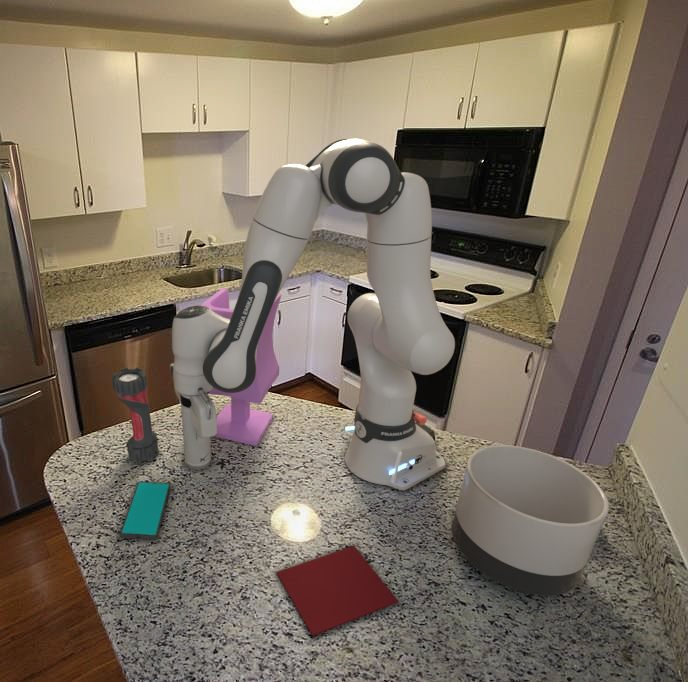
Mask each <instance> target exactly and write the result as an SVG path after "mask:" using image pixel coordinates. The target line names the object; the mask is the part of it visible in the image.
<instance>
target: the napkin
mask: <svg viewBox="0 0 688 682" xmlns="http://www.w3.org/2000/svg"><path fill="white" fill-rule="evenodd" d="M276 575H277V577H278V579H279V581H280V582H281V584H282V585H283V587H284V590H285V591H286V593H287V595H288V596H289V598H290V600H291V601H292V603H293V605H294V606H295V609H296V610H297V611H298V612H297V613H298V614H299V615H300V617H301V619H302V621H303V622H304V624H305V626H306V628H307V629H308V632H309V633H310V634H311V636H312V637H315V636H318V635H320V634H322V633H326V632H327V631H330V630H333V629H335V628H338V627H340V626H342V625H345V624H347V623H350V622H353V621H356V620H358V619H360V618H363V617H366V616H367V615H370V614H373V613H376V612H377V611H380V610H382V609H383V610H384V609H385V608H389V607H391V606H394V605H395V604H398V603H399V600H398V599H397V597H396V596H395V595H394V594H393V592H392V591H391V590H390V589H389V587H388V586H387V585H386V583H385V582H384V581H383V580H382V579H381V578H380V576H379V575H378V573H377V572H376V571H375V570H374V568H372V566H371V564H370V563H368V561H367V560H366V559H365V557H364V556H363V555H362V554H361V552H360V551H359V550H358V549H357V548H356V546H355V545H352V546H349V547H346V548H343V549H340V550H337V551H334V552H331V553H327V554H325V555H323V556H322V555H321V556H320V557H315V558H314V559H311V560H308V561H305V562H302V563H298V564H296V565H293V566H291V567H287V568H284V569H282V570H279V571H276Z"/></svg>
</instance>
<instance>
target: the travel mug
mask: <svg viewBox="0 0 688 682" xmlns="http://www.w3.org/2000/svg"><path fill="white" fill-rule="evenodd" d="M209 392H210V391H209ZM209 392H207V394H208V393H209ZM208 395H209V394H208ZM180 396H181V403H180V411H181V424H182V425H181V426H182V427H181V428H182V438H183V439H182V440H183V452H184V464H185V466H186V467H188V469H190V470H196V471H200V470H204V469H206V468H208V467H209V466H210V465H211V464H212V445H211V437H209V438H205V442H203V443H198V442H197V440H196V433H197V431H196V429H195V427H194V425H193V424H192V422H191V420H190V406H191V401H190V399H187V398H185V397H183V396H182V395H181V394H180Z"/></svg>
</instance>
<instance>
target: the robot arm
mask: <svg viewBox="0 0 688 682" xmlns="http://www.w3.org/2000/svg"><path fill="white" fill-rule="evenodd" d="M272 174H273V175H272V176H271V177H270V179H269V181H268V183H267V184H266V187H265V189H264V191H263V192H262V195H261V196H260V198H259V200H258V203H257V206H256V208H255V211H254V213H253V215H252V219H251V222H250V225H249V228H248V231H247V234H246V235H247V236H246V240H245V245H244V251H243V260H242V272H241V273H242V274H241V281H240V288H239V293H238V296H237V299H236V302H235V305H234V308H233V310H234V311H233V313H232V316H231V319H227V318H224V317H222V316H220V315H218V314H216V313H214V312H213V311H212V310H211V309H210V308H208V307H206V306H201V305H191V306H188V307H186V308H183V309H181V310H179V312H177V313H176V315H175V316H174V317H173V321H172V326H171V350H172V353H173V357H174V359H173V363H170V364H169V370H170V374H171V376H172V381H173V389H174V393H175V395H176V397H177V399H178V401H179V403H180V404H181V396H180V394H181V395H182V396H183V397H185V398H187V399H190V401H191V406H190V420H191V422H192V424H193V425H194V427H195V429H196V431H197V433H196V440H197V442H198V443H203V442H205V438H209V437H210V438H213V437H216V436H215V435H216V434H217V418H216V417H217V410H216V405H215V403H214V401H213V399H212V398H211V397H210V396H209V394H207V392H209V391H211V390H212V389H213V387H214V388H215V389H217V390H219V391H222V392H226V393H237V392H241V391H243V390H245V389H247V388H248V387H249V386H250V385H251V384H252V383H253V381H254V379H255V376H256V358H257V350H258V341H259V339H260V336H261V334H262V331H263V328H264V326H265V323H266V321H267V318H268V315H269V313H270V310H271V308H272V305H273V303H274V301H275V299H276V297H277V296H278V294H280V292H281V290H282V288H284V285H285V283H286V282H287V280H288V278H290V275H291V274H292V272H293V270H294V269H295V267H296V266H297V264H298V262H299V260H300V258H301V257H302V255H303V252H304V251H305V248H306V246H307V244H308V242H309V239H310V237H311V234H312V232H313V229H314V226H315V224H316V222H317V220H318V219H319V217H320V216H321V215H322V213H323V212H324V211H326V209H328V208H329V207H330V206H332V205H337V206H339V207H341V208H343V209H344V210H346V211H350V212H353V213H363V214H365V218H366V219H365V220H366V223H367V225H366V276H367V280H368V281H367V282H368V284H369V285H370V287H371V288H372V290H373V291H374V292H368V293H364V294H361V295H360V296H358V297H356V299H355V300H353V302H352V303H351V305H350V306H349V308H348V311H347V324H348V326H349V329H350V330H351V332H352V335H353V338H354V341H355V346H356V351H357V357H358V362H359V363H358V364H359V371H360V385H359V395H358V403H357V405H356V407H355V412H354V420H353V424H354V425H351V426H345V429H344V430H345V431H353V432H352V435H351V438H350V440H349V442H348V444H349V445H348V447H347V449H346V452H345V455H344V464H345V465H346V467H347V468H348V470H349V471H350V472H351V473H352V474H353V475H354V476H356V477H358V478H360V479H361V480H363V481H366V482H369V483H373V484H376V485H383V486H388V487H391V488H393V489H396V490H398V491H406V490H409V489H411V488H412V487H414V486H416V485H418V484H419V483H421V482H423V481H424V480H427V479H428V478H430V477H432V476H434V475H435V474H438V473H439V472H440V471H442V470H444V469H446V462H445V459H444V457H443V456H442V455H441V454H440V452H439V451H437V444H436V442H435V441H436V434H435V430H433V429H432V428H430V427H428V426H427V425H425V424H426V423H427V421H428V418H427V416H424V415H423V414H421V413H416V412H415V411H414V404H415V398H416V392H417V383H416V379H415V376H414V374H413V373H415V374H419V375H422V376H429V375H432V374H435V373H437V372H439V371H441V370H442V369H443V368H445V367H446V366H447V365H448V364H449V363H450V361H451V359H452V357H453V355H454V353H455V348H456V340H455V337H454V335H453V332H451V330H450V329H449V328H448V326H447V325H446V322H444V319H443V317H442V315H441V312H440V310H439V309H440V308H439V307H438V306H439V305H438V303H437V300H436V295H435V293H434V288H433V283H432V276H431V259H432V258H431V257H432V255H431V254H432V233H433V232H432V231H433V215H432V203H431V195H430V189H429V185H428V183H427V181H426V179H424V177H422V176H420V175H418V174H417V173H416V174H415V173H412V172H404V171H403V172H402V171H401V170H400V169H399V166H398V165H397V163H396V160H395V159H394V157H393V156H392V154H391V153H390V152H389V151H388V150H387V149H386V148H385V147H383V146H382V145H380V144H378V143H376V142H372V141H370V140H367V139H362V138H342V139H338V140H335V141H332V142H331V143H329V144H328V145H326V146H325V147H324V148H323V149H321V151H320V152H319V153H318V154H316V155H315V156H313V158H312V159H311V160H309V161H308V162H307V164H306V165H302V164H297V163H292V164H285V165H282V166H280V167H279V168H278V169H276V170H275V171H274V173H272Z"/></svg>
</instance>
